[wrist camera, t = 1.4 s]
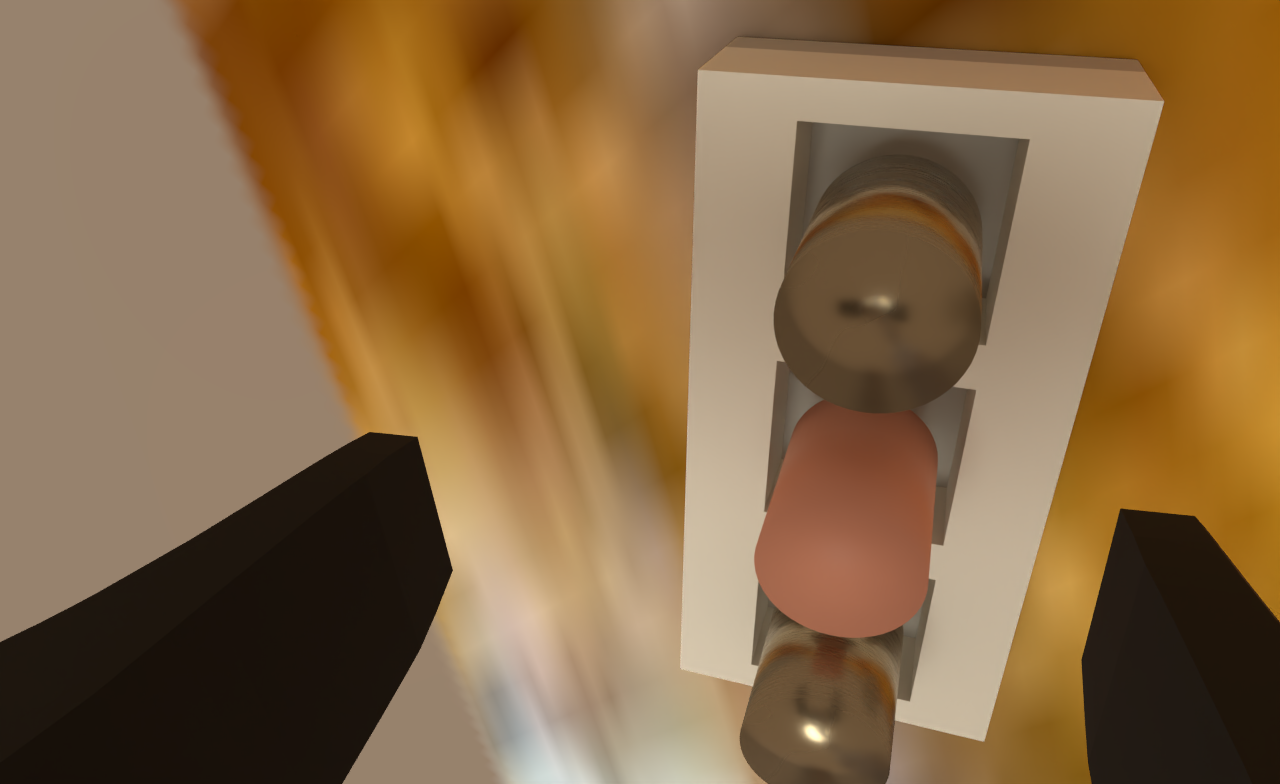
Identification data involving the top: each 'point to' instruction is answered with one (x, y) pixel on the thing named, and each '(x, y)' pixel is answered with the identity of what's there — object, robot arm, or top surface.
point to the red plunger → (851, 522)
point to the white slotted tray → (1010, 320)
